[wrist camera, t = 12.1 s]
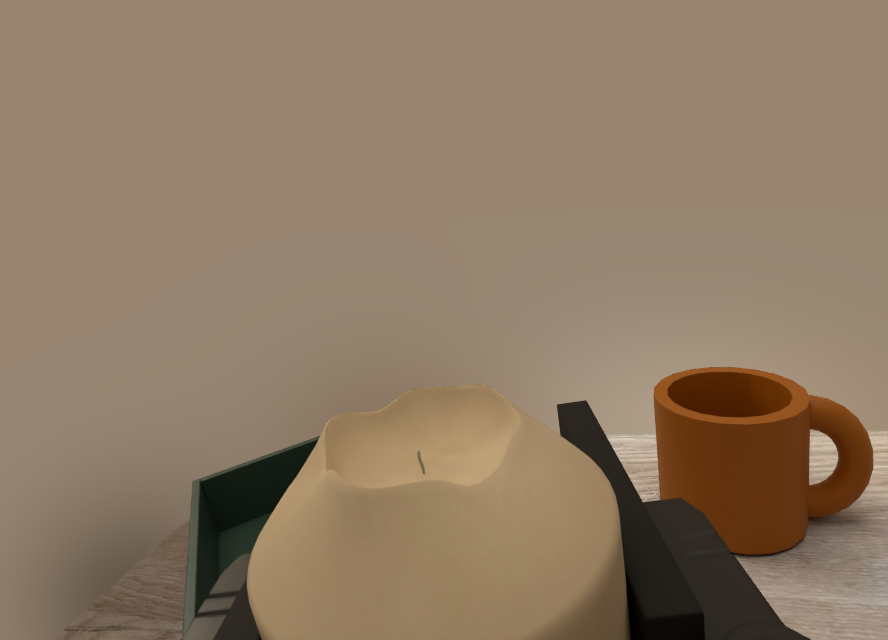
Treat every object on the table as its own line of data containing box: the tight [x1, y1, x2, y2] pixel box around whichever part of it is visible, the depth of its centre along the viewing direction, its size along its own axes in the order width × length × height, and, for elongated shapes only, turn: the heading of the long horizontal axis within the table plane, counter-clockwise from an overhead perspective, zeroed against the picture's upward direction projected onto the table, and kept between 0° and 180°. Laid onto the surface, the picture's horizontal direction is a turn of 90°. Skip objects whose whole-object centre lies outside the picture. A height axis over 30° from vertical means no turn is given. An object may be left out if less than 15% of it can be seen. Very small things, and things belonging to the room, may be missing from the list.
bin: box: [182, 436, 320, 636], centre depth 37 cm, size 17×17×6 cm
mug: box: [654, 367, 873, 555], centre depth 33 cm, size 9×12×9 cm
